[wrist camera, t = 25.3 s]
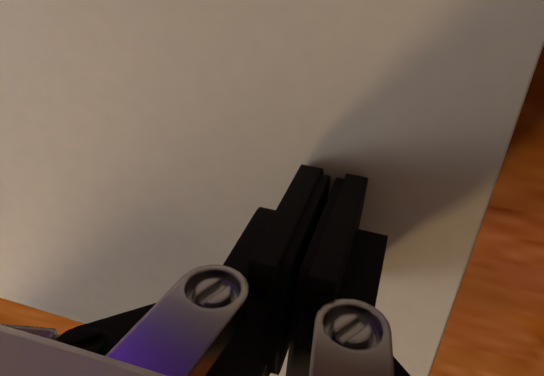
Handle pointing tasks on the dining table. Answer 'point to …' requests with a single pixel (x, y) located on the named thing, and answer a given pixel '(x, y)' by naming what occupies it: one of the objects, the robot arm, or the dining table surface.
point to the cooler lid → (250, 139)
